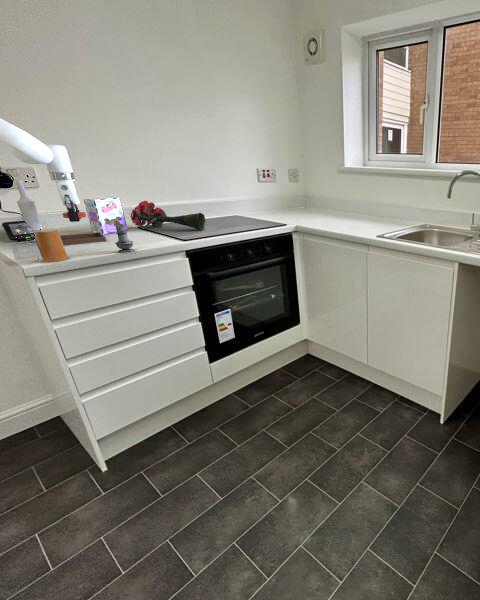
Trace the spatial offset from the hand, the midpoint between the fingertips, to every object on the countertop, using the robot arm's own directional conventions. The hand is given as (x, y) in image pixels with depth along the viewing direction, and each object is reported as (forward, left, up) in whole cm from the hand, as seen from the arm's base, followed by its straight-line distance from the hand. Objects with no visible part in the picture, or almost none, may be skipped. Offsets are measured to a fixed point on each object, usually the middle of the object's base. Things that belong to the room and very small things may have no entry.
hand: (75, 219), depth 152 cm
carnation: (+38, +10, -9) cm, 40 cm away
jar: (-11, -33, -9) cm, 36 cm away
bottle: (-13, +11, -9) cm, 20 cm away
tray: (0, 0, -9) cm, 9 cm away
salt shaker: (+10, -33, -9) cm, 36 cm away
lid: (0, 0, +3) cm, 3 cm away
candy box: (+13, +16, -9) cm, 23 cm away
